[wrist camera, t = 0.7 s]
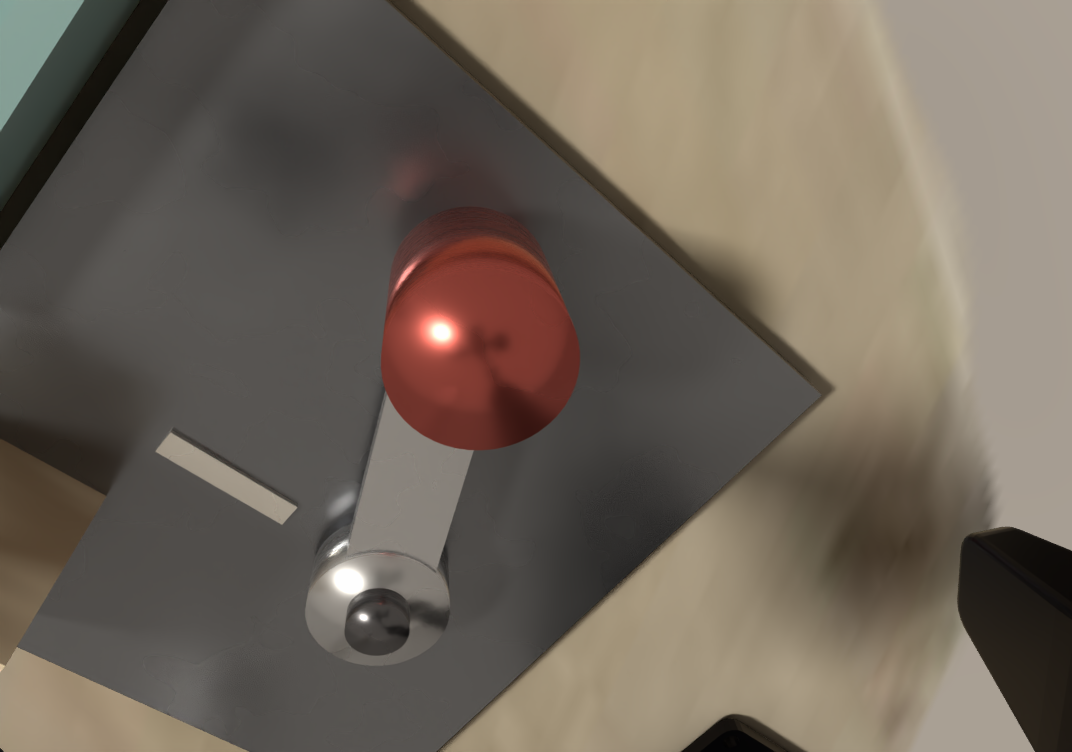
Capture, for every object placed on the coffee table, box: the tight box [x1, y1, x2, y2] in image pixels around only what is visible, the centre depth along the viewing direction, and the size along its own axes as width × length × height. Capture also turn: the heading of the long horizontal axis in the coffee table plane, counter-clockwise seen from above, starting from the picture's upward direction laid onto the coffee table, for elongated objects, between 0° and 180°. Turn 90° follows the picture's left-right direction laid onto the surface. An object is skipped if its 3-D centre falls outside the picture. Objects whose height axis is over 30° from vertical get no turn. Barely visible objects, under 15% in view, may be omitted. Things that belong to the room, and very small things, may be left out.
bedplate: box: [0, 0, 822, 752], centre depth 19 cm, size 15×17×1 cm
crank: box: [305, 206, 580, 666], centre depth 16 cm, size 11×3×5 cm, turn 163°
